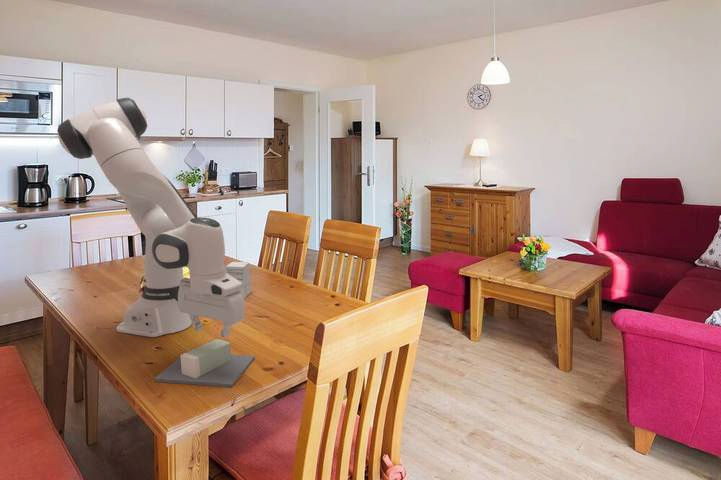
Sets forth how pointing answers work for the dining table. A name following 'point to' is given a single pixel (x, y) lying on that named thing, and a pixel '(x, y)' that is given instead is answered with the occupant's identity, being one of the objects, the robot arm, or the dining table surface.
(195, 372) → the sage block
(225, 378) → the rubber mat
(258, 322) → the dining table surface
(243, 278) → the supplement box
